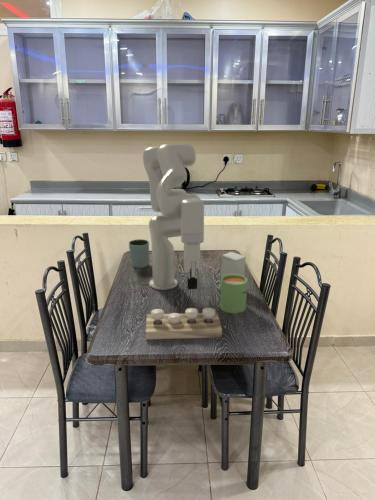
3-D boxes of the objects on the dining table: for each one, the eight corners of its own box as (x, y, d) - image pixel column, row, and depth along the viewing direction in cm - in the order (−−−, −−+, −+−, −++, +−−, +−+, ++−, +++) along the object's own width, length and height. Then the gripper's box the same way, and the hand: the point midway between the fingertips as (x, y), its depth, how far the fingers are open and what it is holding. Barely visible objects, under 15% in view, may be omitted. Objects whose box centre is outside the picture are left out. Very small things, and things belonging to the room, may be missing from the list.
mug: (246, 314, 152) (247, 285, 148) (218, 311, 153) (219, 283, 149) (247, 299, 163) (249, 273, 159) (222, 297, 165) (223, 271, 161)
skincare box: (219, 287, 174) (220, 254, 169) (229, 283, 178) (231, 251, 173) (234, 294, 168) (235, 259, 163) (244, 289, 173) (246, 256, 167)
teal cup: (145, 269, 194) (144, 246, 190) (126, 267, 197) (125, 244, 193) (152, 262, 204) (152, 240, 200) (134, 260, 206) (133, 238, 202)
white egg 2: (185, 320, 142) (185, 308, 141) (197, 320, 143) (197, 307, 141) (185, 326, 138) (185, 314, 137) (198, 326, 139) (198, 313, 137)
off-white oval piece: (151, 321, 142) (151, 309, 140) (164, 321, 142) (163, 308, 140) (151, 327, 138) (150, 315, 136) (164, 327, 138) (163, 314, 136)
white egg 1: (168, 325, 143) (168, 313, 141) (180, 325, 143) (180, 312, 141) (168, 331, 139) (168, 319, 137) (181, 331, 139) (181, 318, 137)
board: (147, 321, 146) (147, 314, 145) (217, 319, 147) (217, 312, 146) (145, 339, 135) (145, 331, 134) (221, 337, 136) (222, 329, 135)
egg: (201, 320, 143) (201, 307, 141) (213, 319, 143) (214, 307, 141) (202, 326, 139) (203, 313, 137) (215, 326, 139) (215, 313, 137)
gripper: (180, 230, 137) (180, 280, 142) (181, 243, 122) (182, 297, 128) (201, 230, 137) (201, 279, 143) (206, 243, 123) (205, 297, 129)
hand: (192, 288), depth 135 cm, fingers closed
